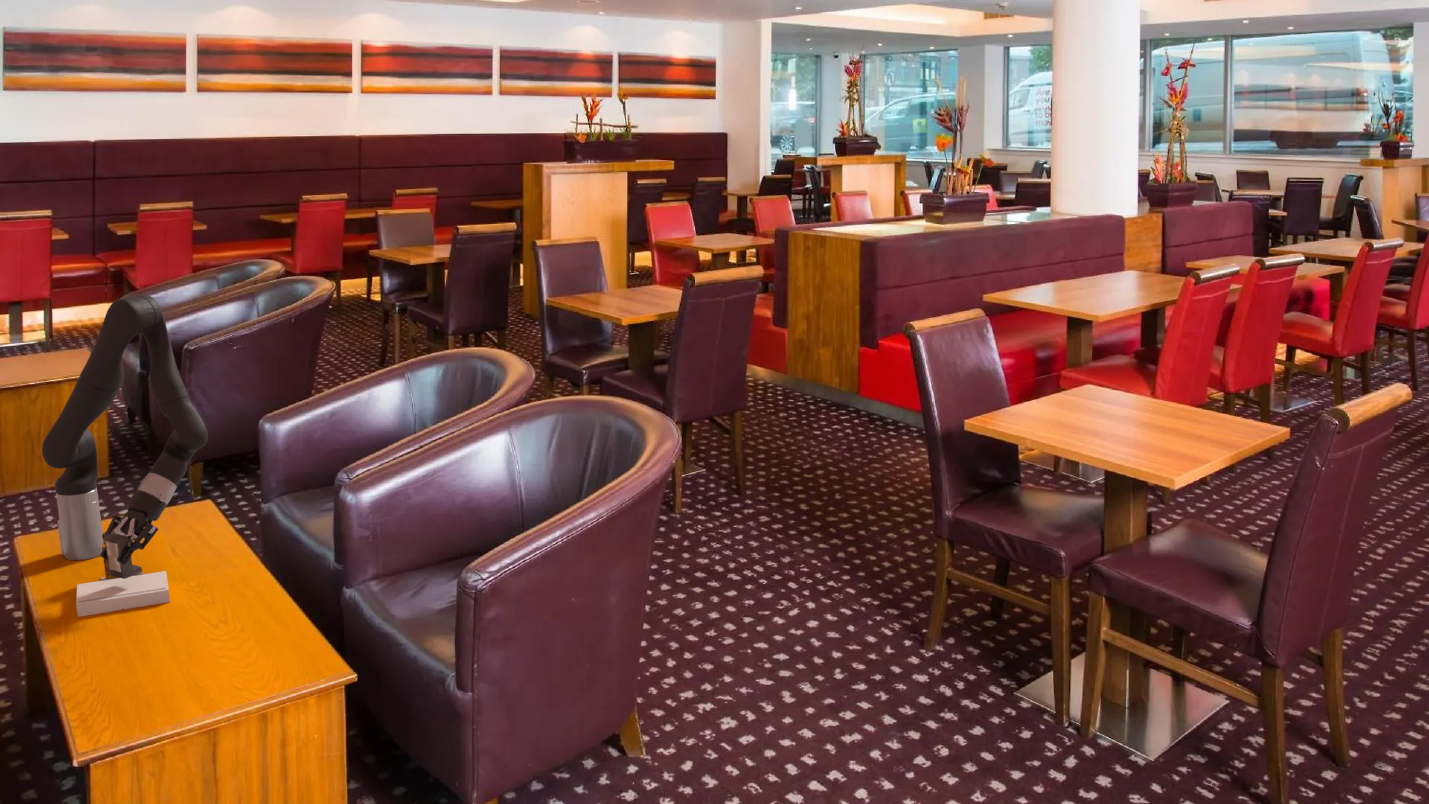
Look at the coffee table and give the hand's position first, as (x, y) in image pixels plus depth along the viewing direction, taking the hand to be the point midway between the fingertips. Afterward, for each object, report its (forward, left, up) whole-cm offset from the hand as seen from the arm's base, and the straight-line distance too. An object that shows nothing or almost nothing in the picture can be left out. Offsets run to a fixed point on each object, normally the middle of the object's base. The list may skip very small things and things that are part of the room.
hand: (112, 560), depth 277 cm
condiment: (-11, +12, -11) cm, 19 cm away
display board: (0, +2, -10) cm, 10 cm away
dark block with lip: (0, +3, -4) cm, 5 cm away
